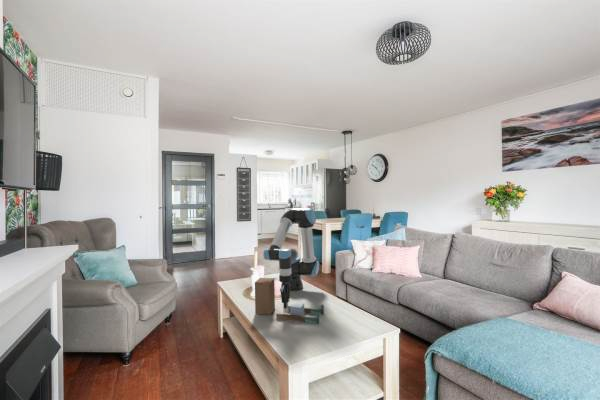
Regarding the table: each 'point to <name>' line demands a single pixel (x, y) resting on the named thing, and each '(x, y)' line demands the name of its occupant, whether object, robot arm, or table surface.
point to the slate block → (297, 309)
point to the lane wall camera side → (298, 318)
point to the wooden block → (264, 296)
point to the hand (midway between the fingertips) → (286, 312)
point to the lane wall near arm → (312, 310)
